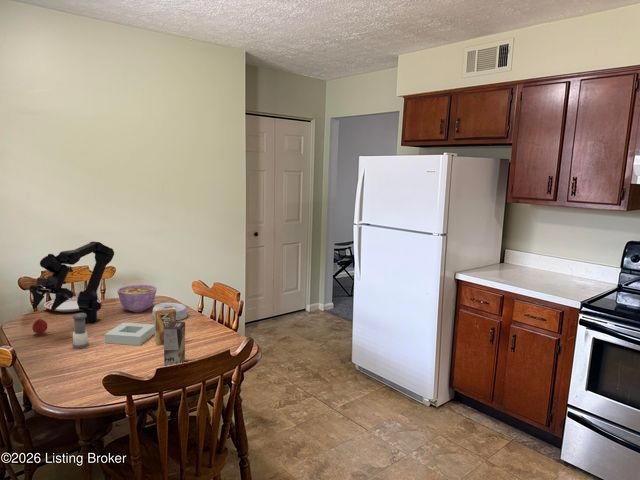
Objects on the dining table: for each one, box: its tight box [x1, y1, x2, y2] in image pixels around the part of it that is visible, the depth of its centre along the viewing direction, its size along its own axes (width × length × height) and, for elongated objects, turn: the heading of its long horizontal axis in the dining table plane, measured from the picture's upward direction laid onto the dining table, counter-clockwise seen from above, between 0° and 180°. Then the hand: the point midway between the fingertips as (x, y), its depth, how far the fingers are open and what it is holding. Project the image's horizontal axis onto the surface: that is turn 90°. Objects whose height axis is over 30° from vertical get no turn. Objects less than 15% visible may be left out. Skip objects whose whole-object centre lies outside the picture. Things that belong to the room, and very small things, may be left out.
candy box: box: [154, 307, 177, 345], centre depth 198 cm, size 9×4×15 cm, turn 116°
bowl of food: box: [117, 284, 158, 313], centre depth 242 cm, size 20×20×12 cm
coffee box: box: [163, 321, 186, 367], centre depth 176 cm, size 9×6×16 cm
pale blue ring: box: [152, 302, 188, 321], centre depth 233 cm, size 18×18×6 cm
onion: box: [31, 317, 48, 336], centre depth 201 cm, size 6×6×8 cm
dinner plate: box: [43, 295, 102, 313], centre depth 242 cm, size 27×27×3 cm
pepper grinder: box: [72, 312, 89, 350], centre depth 190 cm, size 6×6×14 cm
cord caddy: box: [104, 322, 155, 346], centre depth 202 cm, size 16×16×4 cm
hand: (42, 309), depth 191 cm, fingers open, 9 cm apart
